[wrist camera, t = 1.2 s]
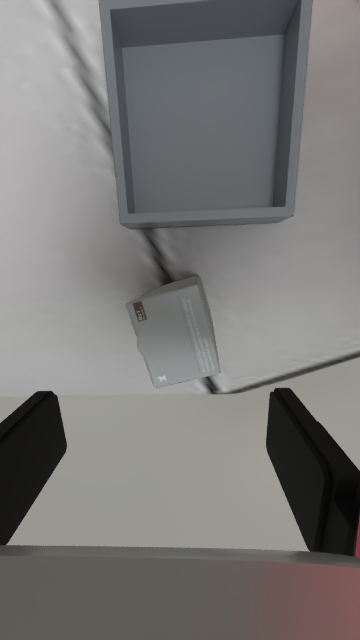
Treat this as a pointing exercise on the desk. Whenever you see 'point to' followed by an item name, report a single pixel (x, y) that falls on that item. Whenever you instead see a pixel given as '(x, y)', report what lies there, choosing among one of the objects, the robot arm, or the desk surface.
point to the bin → (205, 108)
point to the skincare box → (175, 332)
